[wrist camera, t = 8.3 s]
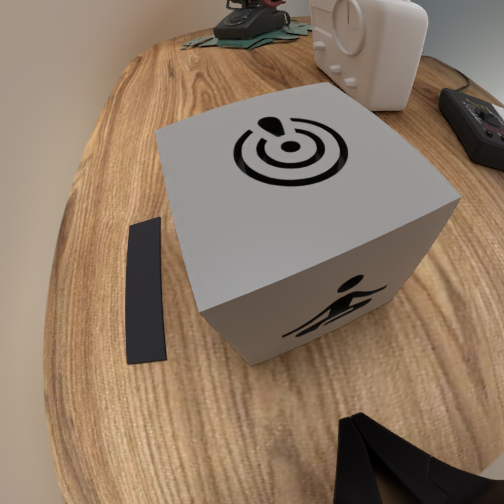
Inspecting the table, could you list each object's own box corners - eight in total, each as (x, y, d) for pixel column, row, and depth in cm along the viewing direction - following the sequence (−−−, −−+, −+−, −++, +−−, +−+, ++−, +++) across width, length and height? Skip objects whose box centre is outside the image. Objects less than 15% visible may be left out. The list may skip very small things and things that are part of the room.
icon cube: (204, 240, 21) (154, 130, 12) (321, 195, 22) (327, 81, 13) (250, 366, 16) (198, 312, 7) (391, 299, 16) (462, 196, 8)
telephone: (249, 21, 68) (241, -27, 51) (336, 28, 56) (333, -30, 39) (170, 51, 56) (152, -10, 39) (270, 52, 43) (258, -35, 26)
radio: (302, 63, 38) (289, -63, 17) (345, 61, 38) (341, -58, 17) (358, 124, 27) (359, -86, 6) (415, 122, 26) (433, -61, 5)
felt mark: (166, 359, 16) (165, 359, 16) (128, 364, 16) (126, 363, 16) (160, 218, 23) (159, 216, 23) (130, 227, 23) (129, 225, 23)
